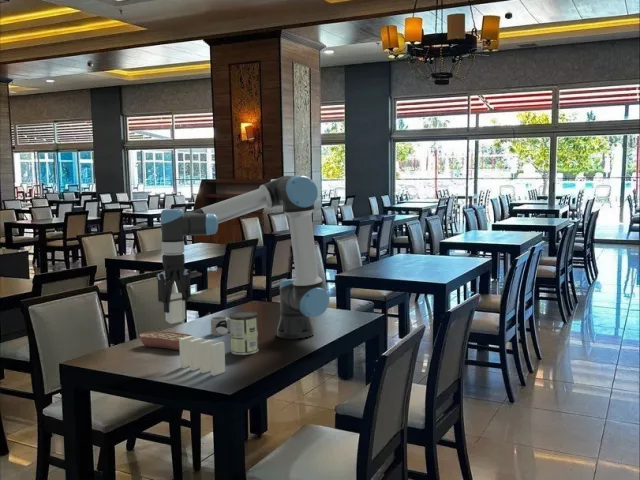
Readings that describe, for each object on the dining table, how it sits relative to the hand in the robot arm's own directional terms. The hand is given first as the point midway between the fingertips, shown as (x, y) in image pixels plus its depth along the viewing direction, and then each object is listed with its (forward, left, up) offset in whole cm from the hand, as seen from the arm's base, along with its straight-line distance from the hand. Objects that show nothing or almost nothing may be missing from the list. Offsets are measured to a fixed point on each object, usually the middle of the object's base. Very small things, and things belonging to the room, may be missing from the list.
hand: (175, 319), depth 220 cm
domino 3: (-9, +6, -15) cm, 19 cm away
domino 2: (-5, +4, -15) cm, 17 cm away
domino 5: (-18, +11, -15) cm, 26 cm away
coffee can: (-20, -16, -16) cm, 30 cm away
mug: (-4, -43, -16) cm, 46 cm away
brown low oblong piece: (+11, -19, -16) cm, 27 cm away
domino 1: (0, 0, -1) cm, 1 cm away
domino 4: (-14, +9, -15) cm, 22 cm away
